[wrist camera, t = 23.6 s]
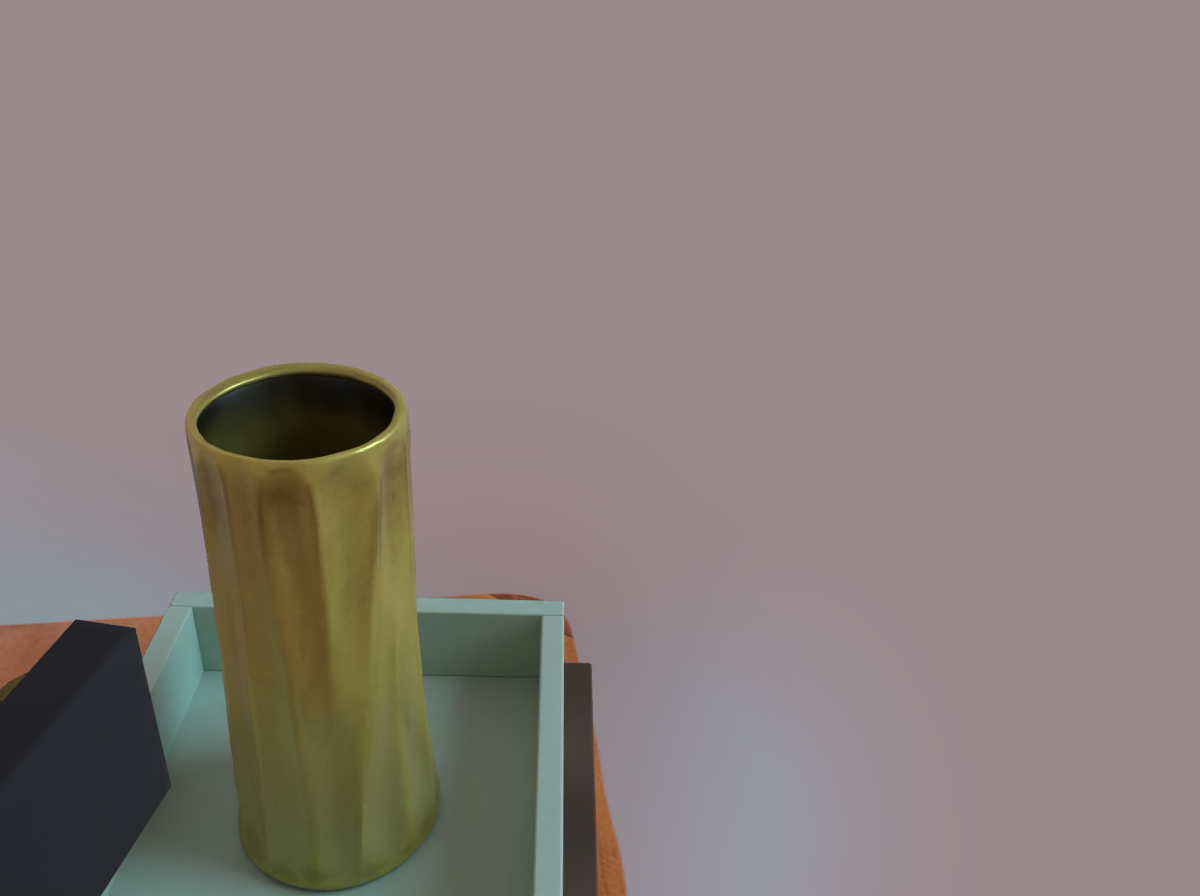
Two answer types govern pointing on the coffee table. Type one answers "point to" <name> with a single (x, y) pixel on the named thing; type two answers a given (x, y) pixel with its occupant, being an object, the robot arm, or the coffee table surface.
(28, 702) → the robot arm
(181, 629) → the tray
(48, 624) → the coffee table surface
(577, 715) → the pedestal
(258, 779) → the vase
